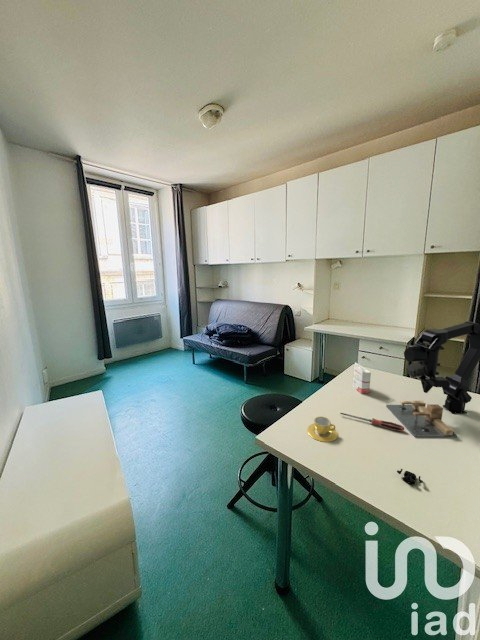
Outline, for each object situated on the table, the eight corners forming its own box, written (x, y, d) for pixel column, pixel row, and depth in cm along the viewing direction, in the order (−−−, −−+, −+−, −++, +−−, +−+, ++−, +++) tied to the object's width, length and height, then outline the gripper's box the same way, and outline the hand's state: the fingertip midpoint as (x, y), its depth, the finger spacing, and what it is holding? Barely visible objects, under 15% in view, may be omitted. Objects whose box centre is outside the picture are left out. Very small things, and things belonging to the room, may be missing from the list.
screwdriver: (339, 417, 116) (339, 411, 115) (340, 414, 118) (340, 408, 117) (404, 434, 103) (404, 427, 103) (403, 430, 106) (404, 423, 105)
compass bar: (419, 404, 121) (420, 398, 121) (455, 434, 100) (456, 427, 99) (396, 404, 122) (397, 398, 121) (427, 434, 101) (428, 427, 100)
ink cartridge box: (369, 393, 136) (372, 367, 132) (361, 393, 135) (362, 367, 132) (360, 385, 144) (362, 361, 141) (352, 386, 143) (353, 361, 140)
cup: (305, 439, 103) (305, 427, 101) (308, 421, 114) (309, 410, 112) (337, 445, 98) (338, 433, 97) (337, 426, 109) (338, 415, 108)
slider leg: (436, 418, 110) (438, 404, 109) (441, 422, 107) (443, 408, 106) (411, 418, 111) (412, 404, 110) (415, 422, 108) (417, 408, 107)
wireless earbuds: (424, 476, 81) (423, 482, 77) (422, 484, 81) (421, 490, 77) (398, 466, 86) (396, 471, 82) (397, 474, 86) (395, 479, 82)
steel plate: (420, 406, 122) (421, 404, 121) (456, 437, 100) (457, 434, 100) (386, 406, 123) (386, 404, 122) (414, 437, 101) (414, 434, 101)
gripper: (398, 352, 120) (395, 383, 123) (424, 368, 102) (419, 404, 105) (423, 351, 119) (419, 382, 123) (453, 367, 101) (448, 403, 104)
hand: (425, 392), depth 114 cm, fingers closed
